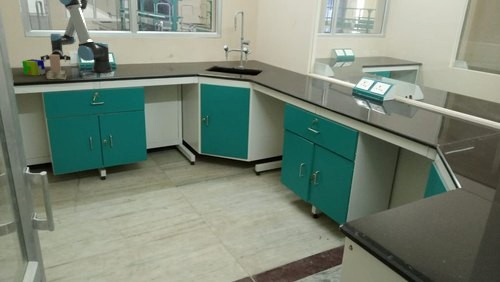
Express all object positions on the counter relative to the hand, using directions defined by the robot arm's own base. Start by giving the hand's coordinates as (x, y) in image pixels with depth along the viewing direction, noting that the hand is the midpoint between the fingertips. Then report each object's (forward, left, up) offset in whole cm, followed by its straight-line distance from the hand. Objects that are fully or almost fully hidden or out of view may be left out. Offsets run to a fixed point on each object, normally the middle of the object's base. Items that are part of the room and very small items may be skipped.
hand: (55, 60), depth 278 cm
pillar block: (0, +4, -8) cm, 9 cm away
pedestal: (0, +4, -12) cm, 13 cm away
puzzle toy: (+16, -12, -13) cm, 24 cm away
